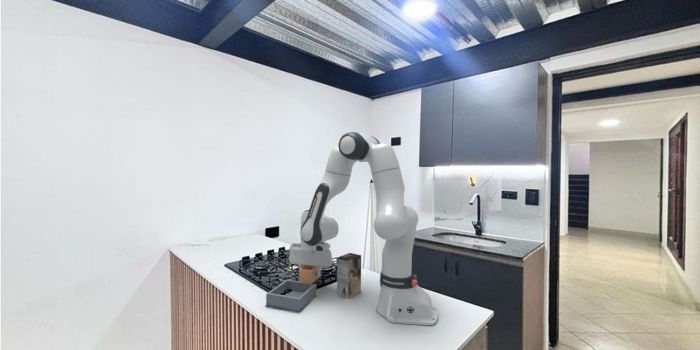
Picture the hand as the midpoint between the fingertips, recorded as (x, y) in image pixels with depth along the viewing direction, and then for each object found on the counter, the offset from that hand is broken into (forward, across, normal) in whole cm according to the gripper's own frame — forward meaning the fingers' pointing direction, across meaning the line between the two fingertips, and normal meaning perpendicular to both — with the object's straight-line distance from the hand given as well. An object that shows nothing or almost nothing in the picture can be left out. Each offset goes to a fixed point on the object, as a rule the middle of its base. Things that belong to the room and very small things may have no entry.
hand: (310, 274), depth 129 cm
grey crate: (+4, 0, -17) cm, 18 cm away
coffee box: (+5, +20, -3) cm, 20 cm away
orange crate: (+2, 0, 0) cm, 2 cm away
